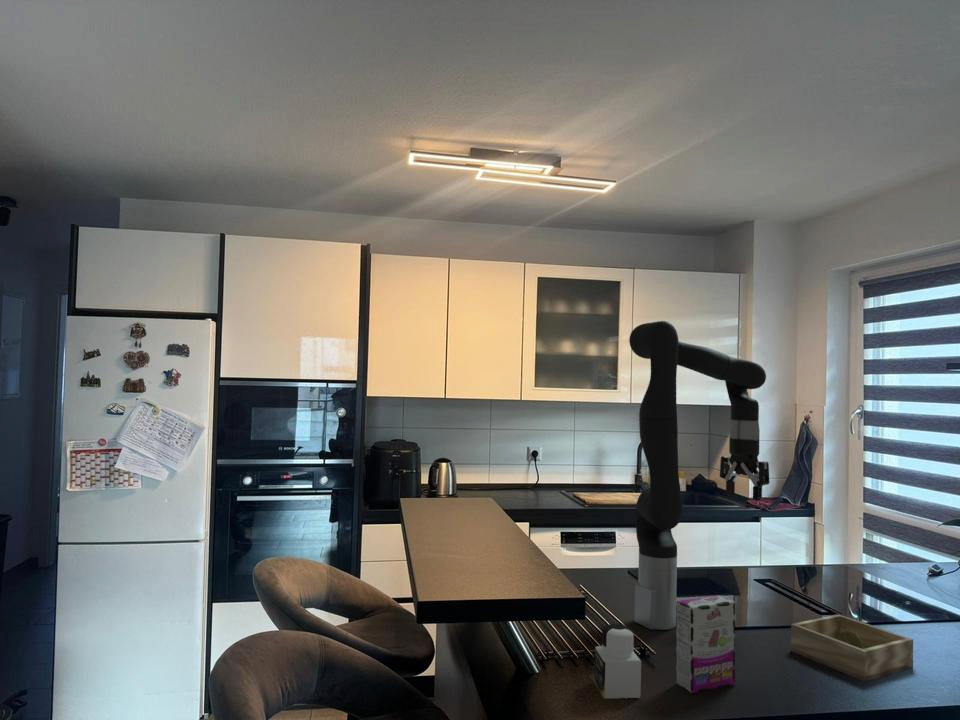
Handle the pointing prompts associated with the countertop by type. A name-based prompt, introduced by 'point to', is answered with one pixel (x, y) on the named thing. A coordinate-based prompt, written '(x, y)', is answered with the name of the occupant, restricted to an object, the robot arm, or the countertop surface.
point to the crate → (852, 647)
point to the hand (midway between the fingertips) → (743, 497)
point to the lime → (850, 638)
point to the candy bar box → (705, 643)
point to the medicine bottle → (617, 664)
